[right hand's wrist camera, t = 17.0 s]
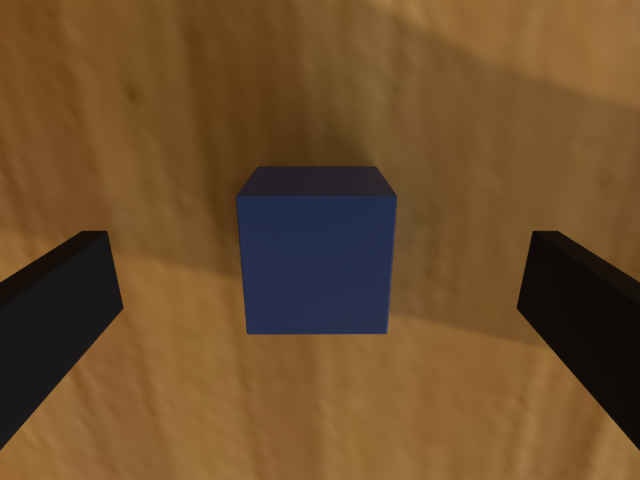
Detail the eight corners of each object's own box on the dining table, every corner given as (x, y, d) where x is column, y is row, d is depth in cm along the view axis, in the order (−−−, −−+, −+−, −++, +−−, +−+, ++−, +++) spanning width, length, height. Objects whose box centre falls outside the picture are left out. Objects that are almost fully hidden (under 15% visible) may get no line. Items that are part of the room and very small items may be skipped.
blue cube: (371, 275, 19) (387, 334, 14) (263, 275, 19) (246, 335, 14) (377, 166, 17) (397, 195, 12) (257, 166, 17) (235, 195, 12)
